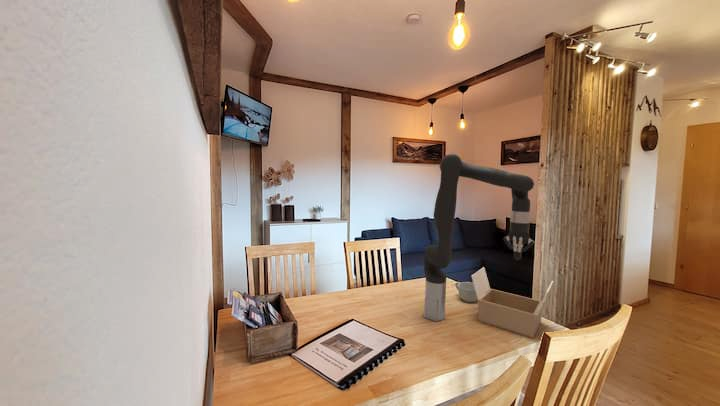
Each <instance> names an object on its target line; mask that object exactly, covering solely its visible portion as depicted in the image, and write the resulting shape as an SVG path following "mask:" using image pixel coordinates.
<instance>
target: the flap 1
mask: <svg viewBox="0 0 720 406" xmlns="http://www.w3.org/2000/svg"><path fill="white" fill-rule="evenodd" d="M470 277H471V280H472V283H473V284H474V288H475V291H476V295H477V299H478V300H479V299H480V298H481V297H483V296H484V295H485V294H486V293H487V292H488V291H489V290H490V289H491V286H490V283H489V279H488V277H487V271H486V268H485V267H484V266H483V267H482V268H480V269H479V270H477V271H476V272H475V273H473V274H471V276H470Z"/></svg>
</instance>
